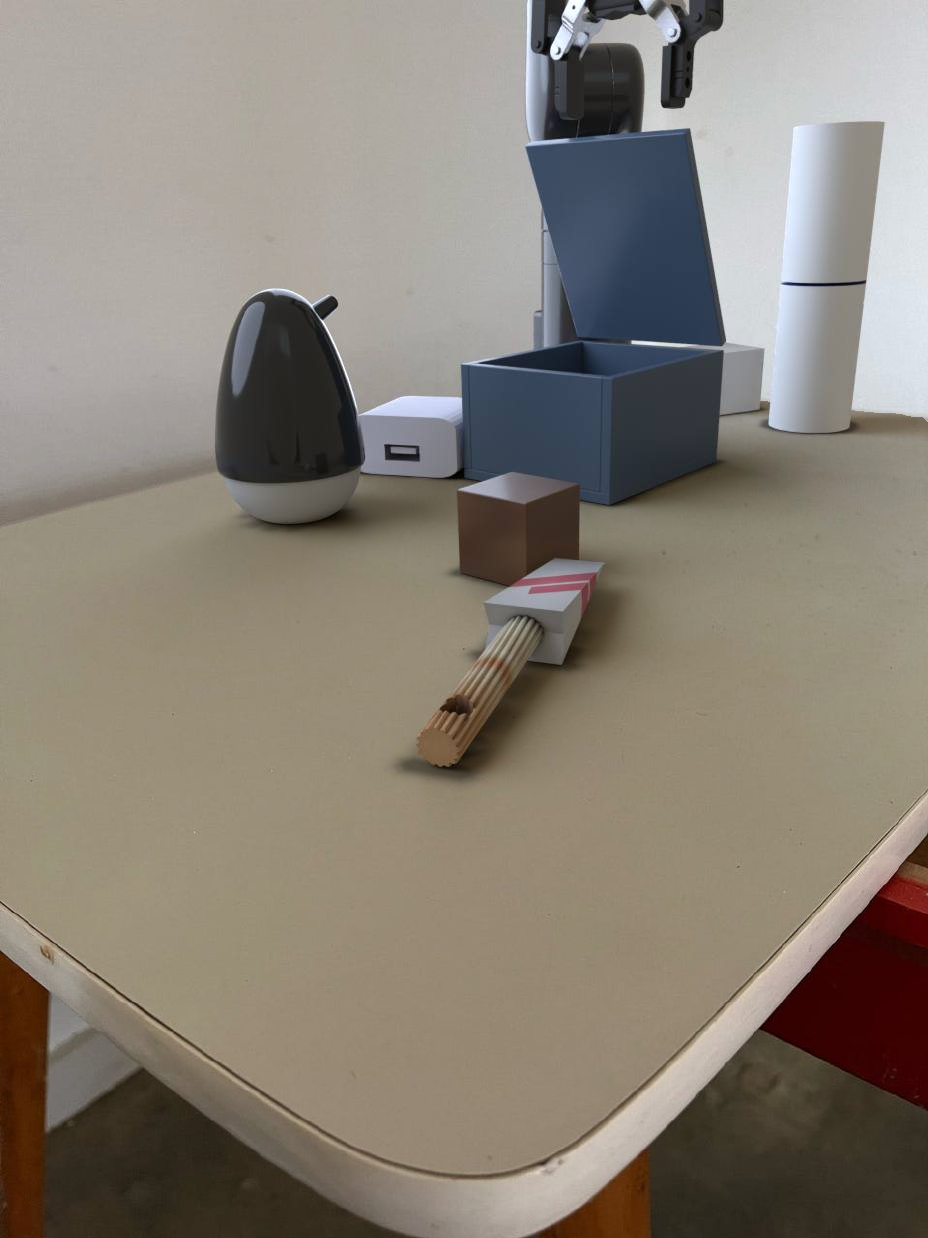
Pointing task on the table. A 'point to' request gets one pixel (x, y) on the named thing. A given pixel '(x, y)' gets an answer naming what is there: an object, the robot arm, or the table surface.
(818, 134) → the cylindrical container
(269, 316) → the pump dispenser
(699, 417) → the blue storage bin
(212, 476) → the table surface
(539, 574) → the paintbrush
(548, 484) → the block
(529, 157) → the lid
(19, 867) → the table surface
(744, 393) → the white cube
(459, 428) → the charger
